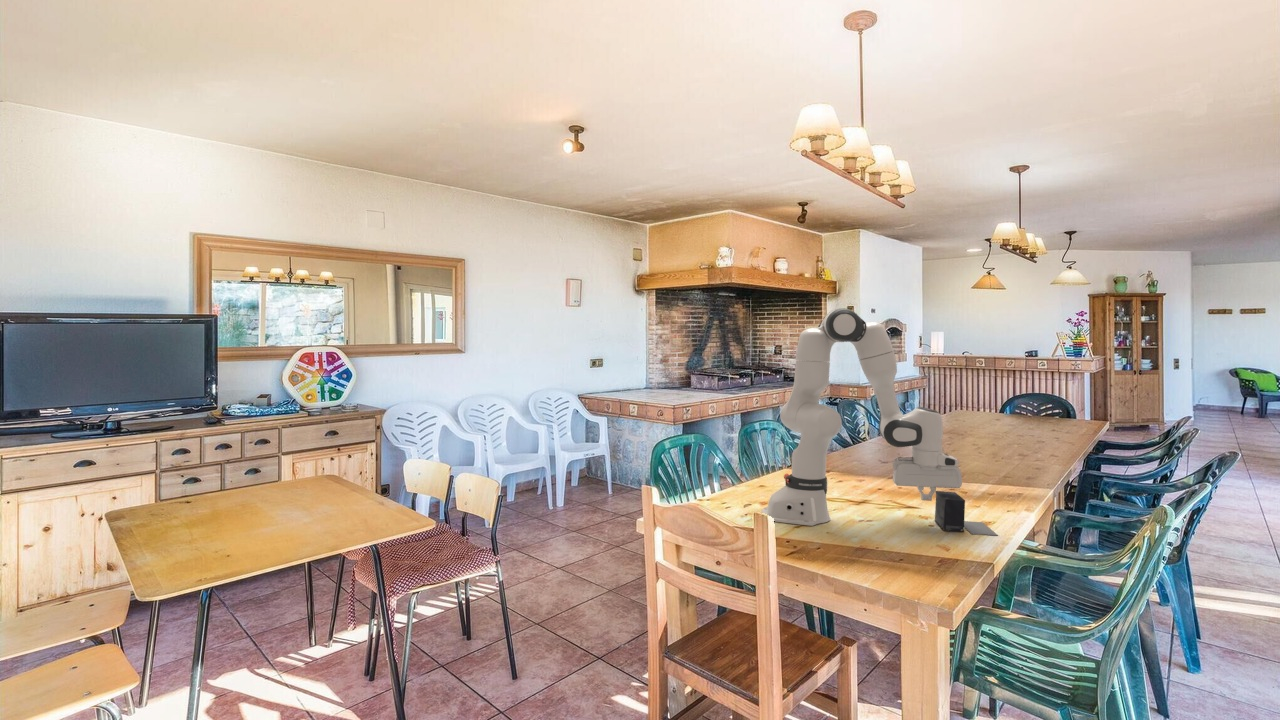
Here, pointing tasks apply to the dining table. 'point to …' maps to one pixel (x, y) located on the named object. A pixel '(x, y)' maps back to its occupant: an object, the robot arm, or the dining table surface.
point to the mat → (978, 528)
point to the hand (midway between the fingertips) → (926, 500)
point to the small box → (949, 511)
